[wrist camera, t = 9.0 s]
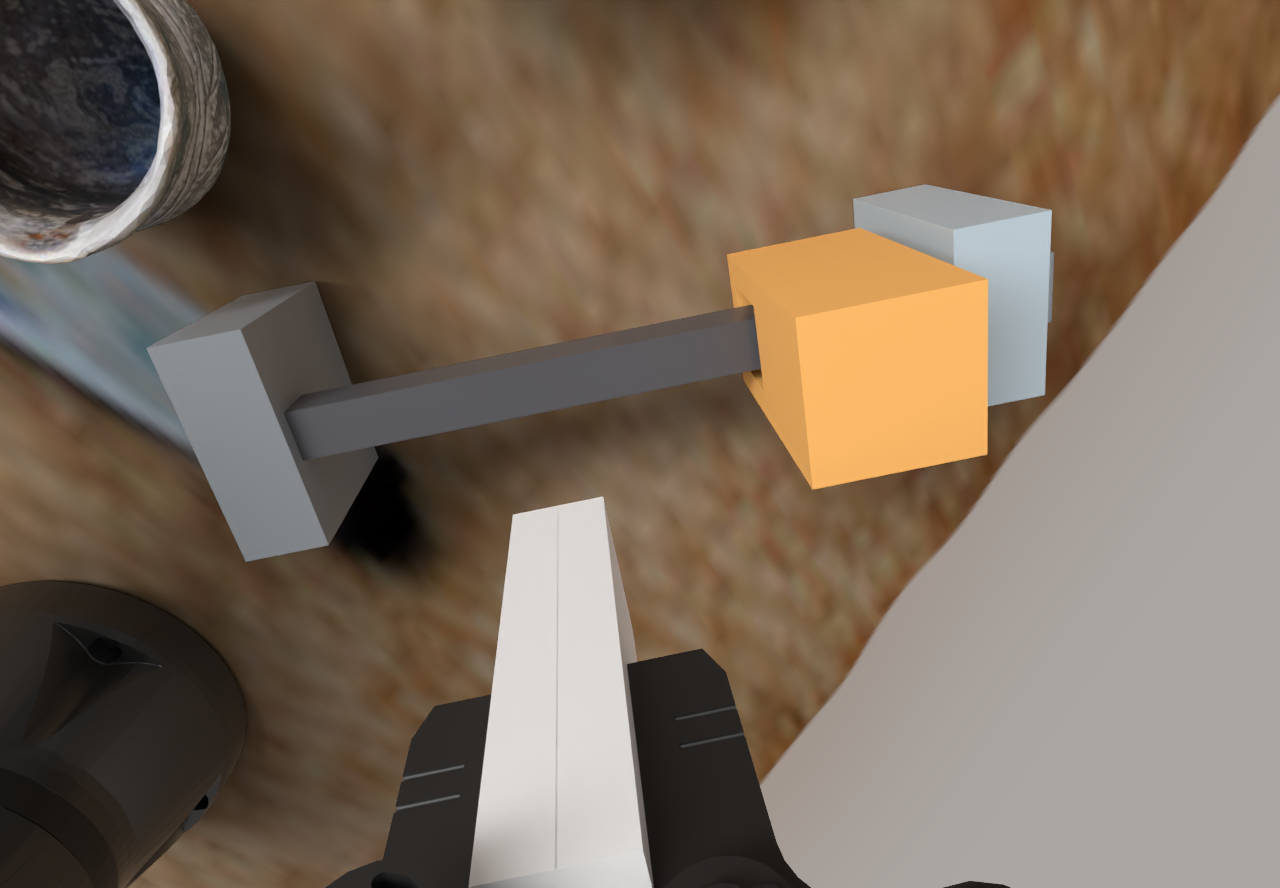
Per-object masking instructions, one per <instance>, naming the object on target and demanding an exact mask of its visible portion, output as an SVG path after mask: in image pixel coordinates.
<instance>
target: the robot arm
mask: <svg viewBox="0 0 1280 888" xmlns="http://www.w3.org/2000/svg"><path fill="white" fill-rule="evenodd" d="M245 736H246V713H245V707H244V703H243V699H242V696H241V693H240V690H239V688H238V686H237V683H236V681H235V679H234V678H233V676H232V674H231V672H230V671H229V669H228V668H227V666H226V665H225V663H224V662H223V661H222V659H221V658H220V657H219V656H218V654H217V653H216V652H215V651H214V650H213V649H212V648H211V647H210V646H209V645H208V644H207V643H206V642H205V641H204V640H203V639H202V638H201V637H200V636H198V635H197V634H196V633H195V632H194V631H193V630H191V629H190V628H188V627H187V626H186V625H184V624H183V623H182V622H180V621H179V620H177V619H175V618H174V617H172V616H171V615H169V614H167V613H165V612H164V611H162V610H160V609H158V608H156V607H154V606H152V605H150V604H148V603H146V602H143V601H141V600H139V599H136V598H133V597H131V596H128V595H125V594H122V593H119V592H116V591H112V590H109V589H105V588H101V587H96V586H91V585H86V584H78V583H70V582H56V581H39V582H25V583H17V584H11V585H5V586H1V587H0V888H128V887H129V886H130V885H131V884H132V883H133V882H135V881H136V880H137V879H138V878H139V877H140V876H141V875H142V874H143V873H144V872H145V871H146V870H147V869H148V868H149V867H150V866H151V865H152V864H153V863H154V862H155V861H156V860H157V859H159V858H160V857H161V856H162V855H163V854H164V853H165V852H166V851H167V850H168V849H169V848H170V847H171V846H172V845H173V844H174V843H175V842H176V841H177V840H178V839H179V837H180V836H181V835H182V834H183V833H184V832H185V831H187V830H188V829H190V828H191V827H192V826H193V825H194V824H195V823H196V822H197V821H198V820H199V819H200V818H201V817H202V816H203V815H204V814H205V813H206V812H207V811H208V810H209V808H210V807H211V806H212V805H213V803H214V802H215V801H216V799H217V798H218V796H219V795H220V793H221V792H222V790H223V788H224V786H225V784H226V782H227V780H228V778H229V776H230V774H231V772H232V771H233V769H234V767H235V765H236V763H237V761H238V759H239V757H240V754H241V752H242V749H243V746H244V742H245ZM403 777H404V782H401V786H400V790H399V794H398V798H397V802H396V813H394V815H393V819H392V823H391V827H390V832H389V836H388V840H387V844H386V848H385V852H384V857H383V860H380V861H376V862H373V863H370V864H368V865H365V866H362V867H360V868H357V869H354V870H352V871H349V872H347V873H346V874H344V875H343V876H341V877H340V878H338V879H337V880H336V881H334V882H333V883H331V884H330V885H329V886H327V887H326V888H811V887H809V886H808V885H807V884H806V883H804V882H803V881H802V880H801V879H799V878H798V877H797V876H796V874H795V873H794V872H793V870H792V869H791V868H790V867H789V865H788V864H787V863H786V862H785V860H784V858H783V856H782V854H781V851H780V849H779V847H778V845H777V842H776V839H775V836H774V833H773V829H772V826H771V822H770V819H769V816H768V812H767V809H766V806H765V802H764V799H763V796H762V792H761V789H760V785H759V782H758V779H757V775H756V772H755V769H754V765H753V762H752V759H751V755H750V752H749V749H748V745H747V742H746V738H745V737H744V733H743V728H742V725H741V722H740V718H739V715H738V712H737V710H736V706H735V701H734V698H733V695H732V691H731V688H730V685H729V681H728V678H727V675H726V672H725V671H724V670H723V669H722V668H721V667H720V666H719V665H718V664H717V663H716V662H715V661H714V660H713V659H712V658H711V657H710V656H709V655H708V654H707V653H706V652H705V651H704V650H703V649H698V650H693V651H688V652H683V653H678V654H673V655H669V656H664V657H659V658H654V659H649V660H644V661H639V662H637V657H636V650H635V643H634V636H633V629H632V625H631V620H630V616H629V611H628V607H627V602H626V598H625V593H624V588H623V584H622V579H621V575H620V570H619V566H618V561H617V557H616V552H615V548H614V543H613V539H612V534H611V530H610V525H609V521H608V516H607V511H606V507H605V502H604V498H603V497H598V498H593V499H588V500H583V501H578V502H573V503H569V504H564V505H559V506H554V507H549V508H544V509H539V510H534V511H529V512H524V513H519V514H514V515H513V519H512V527H511V535H510V544H509V552H508V561H507V569H506V577H505V586H504V594H503V602H502V611H501V619H500V628H499V636H498V644H497V653H496V661H495V669H494V678H493V686H492V694H491V695H487V696H482V697H477V698H472V699H467V700H463V701H458V702H453V703H448V704H443V705H438V706H434V708H433V709H432V711H431V712H430V714H429V715H428V716H427V718H426V719H425V721H424V722H423V724H422V725H421V727H420V728H419V729H418V731H417V732H416V734H415V735H414V737H413V738H412V740H411V744H410V748H409V752H408V756H407V760H406V765H405V769H404V773H403ZM944 888H1010V887H1008V886H1005V885H1001V884H992V883H984V882H974V881H968V882H964V883H960V884H956V885H952V886H949V887H944Z"/></svg>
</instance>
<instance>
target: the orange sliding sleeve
mask: <svg viewBox="0 0 1280 888" xmlns="http://www.w3.org/2000/svg"><path fill="white" fill-rule="evenodd" d="M727 259H728V267H729V274H730V281H731V289H732V296H733V304H734V308H737V307H742V306H747V305H753V306H754V314H755V322H756V330H757V339H758V347H759V355H760V363H761V369H757V370H752V371H747V372H743V378H744V382H745V383H746V385H747V387H748V388H749V390H750V391H751V393H752V395H753V396H754V398H755V399H756V401H757V402H758V404H759V406H760V407H761V409H762V410H763V412H764V413H765V415H766V417H767V418H768V420H769V421H770V423H771V425H772V426H773V428H774V429H775V431H776V432H777V434H778V436H779V437H780V439H781V440H782V442H783V443H784V445H785V447H786V448H787V450H788V451H789V453H790V455H791V456H792V458H793V459H794V461H795V462H796V464H797V466H798V467H799V469H800V470H801V472H802V474H803V475H804V477H805V478H806V480H807V481H808V483H809V485H810V486H811V488H812V489H818V488H823V487H828V486H833V485H838V484H843V483H848V482H853V481H858V480H863V479H868V478H873V477H878V476H883V475H888V474H893V473H898V472H903V471H908V470H913V469H918V468H923V467H928V466H933V465H938V464H943V463H948V462H953V461H958V460H963V459H968V458H973V457H978V456H983V455H987V426H988V279H986V278H984V277H981V276H979V275H976V274H974V273H972V272H969V271H967V270H964V269H962V268H959V267H957V266H954V265H952V264H949V263H947V262H944V261H942V260H939V259H937V258H934V257H932V256H929V255H927V254H924V253H922V252H919V251H917V250H914V249H912V248H909V247H907V246H904V245H902V244H899V243H897V242H894V241H892V240H889V239H887V238H884V237H882V236H879V235H877V234H874V233H872V232H869V231H867V230H864V229H862V228H857V229H852V230H847V231H842V232H837V233H832V234H827V235H822V236H817V237H812V238H807V239H802V240H797V241H792V242H787V243H782V244H777V245H772V246H767V247H762V248H757V249H752V250H747V251H742V252H737V253H732V254H727Z"/></svg>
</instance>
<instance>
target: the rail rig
mask: <svg viewBox="0 0 1280 888" xmlns="http://www.w3.org/2000/svg"><path fill="white" fill-rule="evenodd" d="M853 206H854V222H855V229H857V228H862V229H864V230H867V231H869V232H872V233H874V234H877V235H879V236H882V237H884V238H887V239H889V240H892V241H894V242H897V243H899V244H902V245H904V246H907V247H909V248H912V249H914V250H917V251H919V252H922V253H924V254H927V255H929V256H932V257H934V258H937V259H939V260H942V261H944V262H947V263H949V264H952V265H954V266H957V267H959V268H962V269H964V270H967V271H969V272H972V273H974V274H976V275H979V276H981V277H984V278H986V279H988V406H993V405H998V404H1003V403H1008V402H1013V401H1018V400H1023V399H1028V398H1033V397H1038V396H1043V395H1045V376H1046V350H1047V323H1049V322H1051V318H1052V292H1053V267H1054V252H1052V251H1050V243H1051V217H1052V210H1049V209H1044V208H1039V207H1034V206H1029V205H1024V204H1019V203H1014V202H1009V201H1004V200H999V199H994V198H990V197H985V196H980V195H975V194H970V193H965V192H960V191H955V190H950V189H945V188H940V187H935V186H931V185H926V184H925V185H920V186H915V187H910V188H905V189H900V190H895V191H890V192H885V193H880V194H875V195H870V196H865V197H860V198H855V199H853ZM146 349H147V351H148V353H149V355H150V357H151V360H152V362H153V364H154V366H155V368H156V370H157V372H158V375H159V377H160V379H161V381H162V383H163V385H164V387H165V390H166V392H167V394H168V396H169V398H170V400H171V402H172V405H173V407H174V409H175V411H176V413H177V415H178V417H179V420H180V422H181V424H182V426H183V428H184V430H185V432H186V435H187V437H188V439H189V441H190V443H191V445H192V447H193V450H194V452H195V454H196V456H197V458H198V460H199V462H200V465H201V467H202V469H203V471H204V473H205V475H206V477H207V480H208V482H209V484H210V486H211V488H212V490H213V492H214V495H215V497H216V499H217V501H218V503H219V505H220V507H221V510H222V512H223V514H224V516H225V518H226V520H227V522H228V525H229V527H230V529H231V531H232V533H233V535H234V537H235V540H236V542H237V544H238V546H239V548H240V550H241V552H242V555H243V557H244V559H245V561H246V562H247V561H252V560H257V559H262V558H267V557H272V556H277V555H282V554H287V553H292V552H297V551H302V550H307V549H312V548H317V547H322V546H327V545H329V544H330V542H331V540H332V539H333V537H334V535H335V533H336V532H337V530H338V528H339V526H340V525H341V523H342V521H343V519H344V517H345V516H346V514H347V512H348V510H349V509H350V507H351V505H352V503H353V502H354V500H355V498H356V496H357V495H358V493H359V491H360V489H361V488H362V486H363V484H364V482H365V481H366V479H367V477H368V475H369V474H370V472H371V470H372V468H373V466H374V465H375V463H376V461H377V459H378V455H377V452H376V450H375V447H374V446H378V445H383V444H388V443H393V442H398V441H403V440H408V439H413V438H418V437H423V436H428V435H433V434H438V433H443V432H448V431H453V430H458V429H463V428H468V427H473V426H478V425H483V424H488V423H493V422H498V421H503V420H508V419H513V418H518V417H523V416H528V415H533V414H538V413H543V412H548V411H553V410H558V409H563V408H568V407H573V406H578V405H583V404H588V403H593V402H598V401H603V400H608V399H613V398H618V397H623V396H628V395H633V394H638V393H643V392H648V391H653V390H658V389H663V388H668V387H673V386H678V385H683V384H688V383H693V382H698V381H703V380H708V379H713V378H718V377H722V376H727V375H732V374H737V373H742V372H747V371H752V370H757V369H761V363H760V355H759V347H758V339H757V330H756V322H755V314H754V306H753V305H747V306H742V307H737V308H732V309H727V310H722V311H717V312H712V313H707V314H702V315H697V316H692V317H687V318H682V319H677V320H672V321H667V322H662V323H657V324H652V325H647V326H643V327H638V328H633V329H628V330H623V331H618V332H613V333H608V334H603V335H598V336H593V337H588V338H583V339H578V340H573V341H568V342H563V343H558V344H553V345H548V346H543V347H538V348H533V349H528V350H523V351H518V352H513V353H508V354H503V355H498V356H493V357H488V358H483V359H478V360H473V361H468V362H463V363H458V364H453V365H448V366H443V367H438V368H433V369H428V370H423V371H418V372H413V373H408V374H403V375H398V376H393V377H388V378H383V379H378V380H373V381H368V382H363V383H358V384H353V385H352V383H351V380H350V377H349V374H348V372H347V369H346V366H345V363H344V360H343V358H342V355H341V352H340V349H339V346H338V344H337V341H336V338H335V335H334V333H333V330H332V327H331V324H330V321H329V319H328V316H327V313H326V310H325V307H324V305H323V302H322V299H321V296H320V293H319V291H318V288H317V285H316V282H315V281H312V282H307V283H303V284H298V285H293V286H288V287H283V288H278V289H273V290H268V291H263V292H258V293H253V294H248V295H243V296H240V297H239V298H237V299H235V300H233V301H231V302H229V303H228V304H226V305H224V306H222V307H220V308H219V309H217V310H215V311H213V312H211V313H209V314H208V315H206V316H204V317H202V318H200V319H199V320H197V321H195V322H193V323H191V324H189V325H188V326H186V327H184V328H182V329H180V330H178V331H177V332H175V333H173V334H171V335H169V336H168V337H166V338H164V339H162V340H160V341H158V342H157V343H155V344H153V345H151V346H149V347H148V348H146Z"/></svg>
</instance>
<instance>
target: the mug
mask: <svg viewBox="0 0 1280 888" xmlns="http://www.w3.org/2000/svg"><path fill="white" fill-rule="evenodd" d="M230 137H231V114H230V100H229V94H228V88H227V83H226V79H225V76H224V73H223V69H222V64H221V60H220V57H219V54H218V52H217V50H216V46H215V45H214V43H213V41H212V39H211V37H210V36H209V34H208V32H207V29H206V27H205V26H204V24H203V22H202V21H201V19H200V18H199V16H198V14H197V13H196V11H195V10H194V9H193V8H192V7H191V6H190V5H189V4H188V3H187V2H186V1H185V0H0V256H4V257H7V258H12V259H16V260H21V261H25V262H34V263H45V264H56V263H65V262H72V261H75V260H78V259H81V258H85V257H87V256H89V255H91V254H94V253H97V252H100V251H102V250H105V249H107V248H109V247H111V246H113V245H116V244H118V243H120V242H121V241H123V240H124V239H126V238H127V237H129V236H130V235H132V234H133V233H134V232H137V231H140V230H144V229H146V228H150V227H153V226H156V225H159V224H162V223H164V222H167V221H169V220H171V219H173V218H175V217H177V216H179V215H181V214H183V213H184V212H185V211H187V210H188V209H190V208H191V207H192V206H194V205H195V204H196V203H198V202H199V200H200V199H201V198H202V197H203V196H204V195H205V194H206V193H207V192H208V191H209V190H210V189H211V188H212V187H213V186H214V184H215V182H216V180H217V179H218V177H219V175H220V173H221V170H222V167H223V164H224V161H225V158H226V155H227V151H228V146H229V142H230Z"/></svg>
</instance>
